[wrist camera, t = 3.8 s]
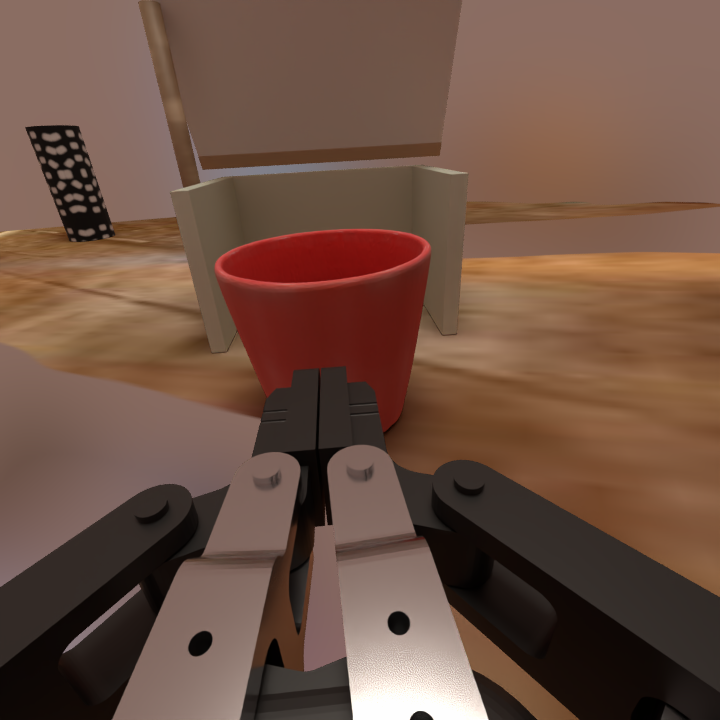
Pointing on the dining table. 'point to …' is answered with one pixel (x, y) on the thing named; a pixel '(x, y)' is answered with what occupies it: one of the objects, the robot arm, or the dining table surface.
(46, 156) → the white-spotted black cylinder
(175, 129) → the prop stick
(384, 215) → the cold frame
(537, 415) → the dining table surface
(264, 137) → the lid
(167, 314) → the dining table surface
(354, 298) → the flower pot
